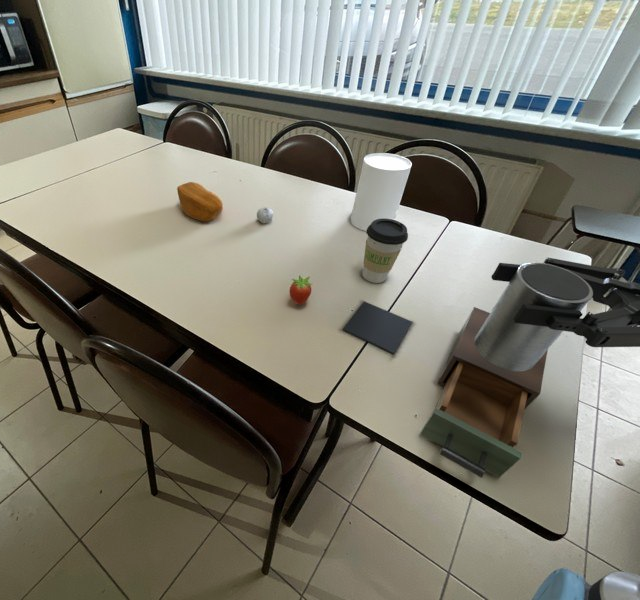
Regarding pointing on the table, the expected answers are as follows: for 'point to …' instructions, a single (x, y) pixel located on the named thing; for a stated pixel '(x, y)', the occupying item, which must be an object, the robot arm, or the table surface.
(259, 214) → the garlic
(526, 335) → the silver cylinder
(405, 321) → the mat
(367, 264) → the coffee cup
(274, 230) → the table surface
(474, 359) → the cabinet
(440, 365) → the table surface
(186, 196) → the bread
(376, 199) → the canister
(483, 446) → the drawer
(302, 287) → the fruit
